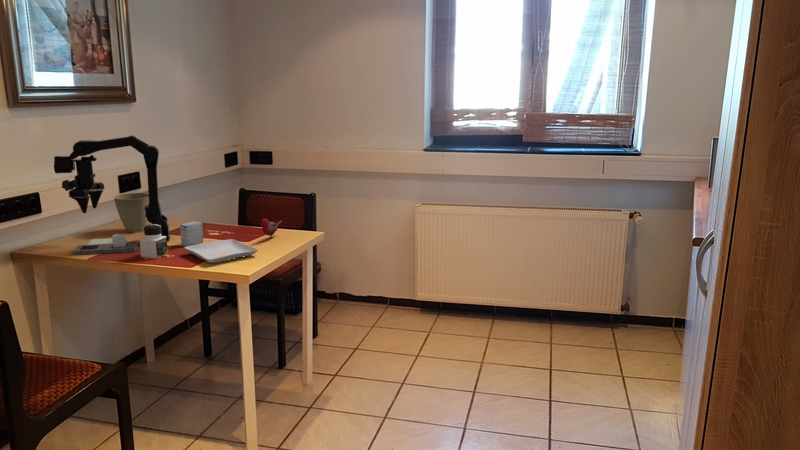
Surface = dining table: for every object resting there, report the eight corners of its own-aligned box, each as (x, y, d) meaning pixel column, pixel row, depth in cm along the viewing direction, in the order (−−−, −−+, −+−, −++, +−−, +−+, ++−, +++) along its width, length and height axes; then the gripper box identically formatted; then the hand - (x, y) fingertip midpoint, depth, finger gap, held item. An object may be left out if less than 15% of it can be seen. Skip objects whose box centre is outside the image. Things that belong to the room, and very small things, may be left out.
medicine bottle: (157, 258, 224) (155, 228, 222) (140, 257, 226) (138, 226, 223) (168, 253, 231) (166, 223, 228) (151, 252, 233) (149, 222, 230)
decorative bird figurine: (258, 242, 250) (257, 219, 248) (280, 233, 266) (279, 211, 264) (264, 243, 249) (263, 220, 247) (285, 233, 265) (285, 212, 263)
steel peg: (127, 248, 238) (125, 233, 236) (125, 251, 234) (124, 236, 232) (115, 248, 237) (113, 234, 235) (113, 251, 232) (111, 236, 231)
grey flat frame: (138, 245, 241) (137, 242, 241) (134, 251, 232) (134, 248, 232) (78, 248, 235) (78, 245, 235) (72, 255, 227) (72, 251, 226)
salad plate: (259, 257, 230) (259, 248, 230) (209, 267, 216) (208, 258, 215) (232, 246, 245) (232, 238, 244) (183, 255, 231) (182, 246, 230)
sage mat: (126, 239, 251) (126, 237, 251) (122, 245, 242) (121, 243, 241) (92, 240, 247) (92, 239, 247) (87, 246, 238) (86, 245, 238)
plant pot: (116, 228, 268) (112, 194, 265) (151, 225, 275) (148, 191, 271) (118, 236, 255) (114, 199, 252) (154, 232, 262) (152, 197, 259)
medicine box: (196, 240, 250) (195, 221, 248) (203, 242, 248) (202, 222, 246) (181, 245, 244) (179, 224, 242) (188, 246, 242) (187, 226, 240)
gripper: (75, 169, 244) (79, 206, 248) (52, 176, 226) (57, 215, 230) (102, 169, 245) (107, 205, 248) (82, 176, 227) (87, 215, 230)
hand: (89, 210), depth 239 cm, fingers open, 9 cm apart
